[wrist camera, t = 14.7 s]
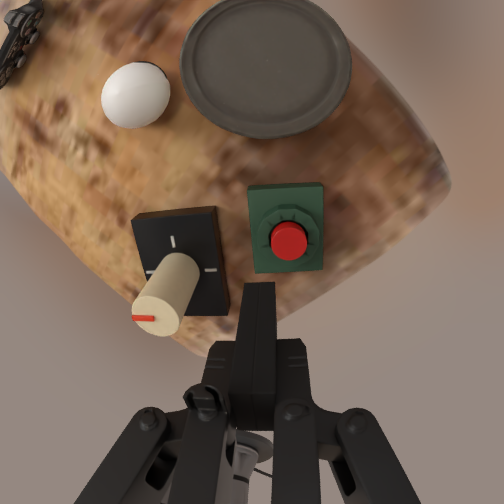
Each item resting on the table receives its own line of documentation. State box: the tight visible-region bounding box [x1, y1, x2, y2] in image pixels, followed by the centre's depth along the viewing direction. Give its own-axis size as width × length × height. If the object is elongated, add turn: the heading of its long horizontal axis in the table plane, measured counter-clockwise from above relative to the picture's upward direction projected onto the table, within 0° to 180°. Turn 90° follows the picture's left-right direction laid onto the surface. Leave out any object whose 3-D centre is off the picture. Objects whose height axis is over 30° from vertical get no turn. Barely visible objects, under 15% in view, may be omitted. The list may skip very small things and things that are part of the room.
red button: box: [271, 222, 307, 260], centre depth 29 cm, size 4×4×2 cm
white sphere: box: [101, 61, 170, 129], centre depth 23 cm, size 10×7×7 cm
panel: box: [131, 206, 230, 316], centre depth 34 cm, size 14×10×3 cm
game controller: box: [0, 0, 44, 89], centre depth 18 cm, size 16×7×10 cm, turn 139°
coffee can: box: [179, 0, 352, 139], centre depth 19 cm, size 10×10×14 cm
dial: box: [132, 253, 200, 336], centre depth 29 cm, size 5×5×9 cm
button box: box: [247, 182, 323, 273], centre depth 31 cm, size 10×8×4 cm
